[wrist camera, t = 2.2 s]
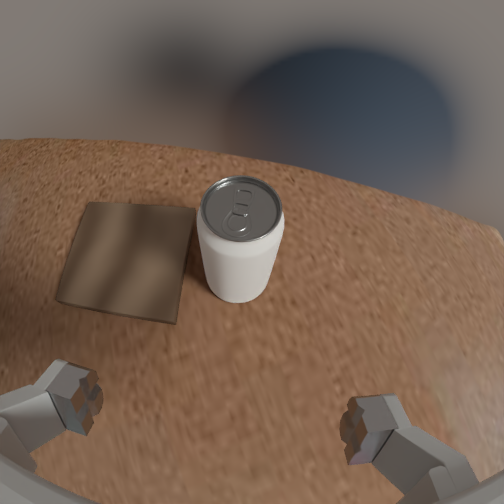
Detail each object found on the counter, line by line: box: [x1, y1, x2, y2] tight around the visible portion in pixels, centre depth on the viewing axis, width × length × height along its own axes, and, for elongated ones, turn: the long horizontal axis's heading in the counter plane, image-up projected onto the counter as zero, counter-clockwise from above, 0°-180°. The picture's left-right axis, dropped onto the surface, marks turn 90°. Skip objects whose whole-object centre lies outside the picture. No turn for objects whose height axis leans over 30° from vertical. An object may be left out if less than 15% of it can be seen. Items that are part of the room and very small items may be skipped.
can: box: [197, 176, 284, 303], centre depth 25 cm, size 6×6×12 cm
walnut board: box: [56, 202, 196, 325], centre depth 30 cm, size 14×13×1 cm
